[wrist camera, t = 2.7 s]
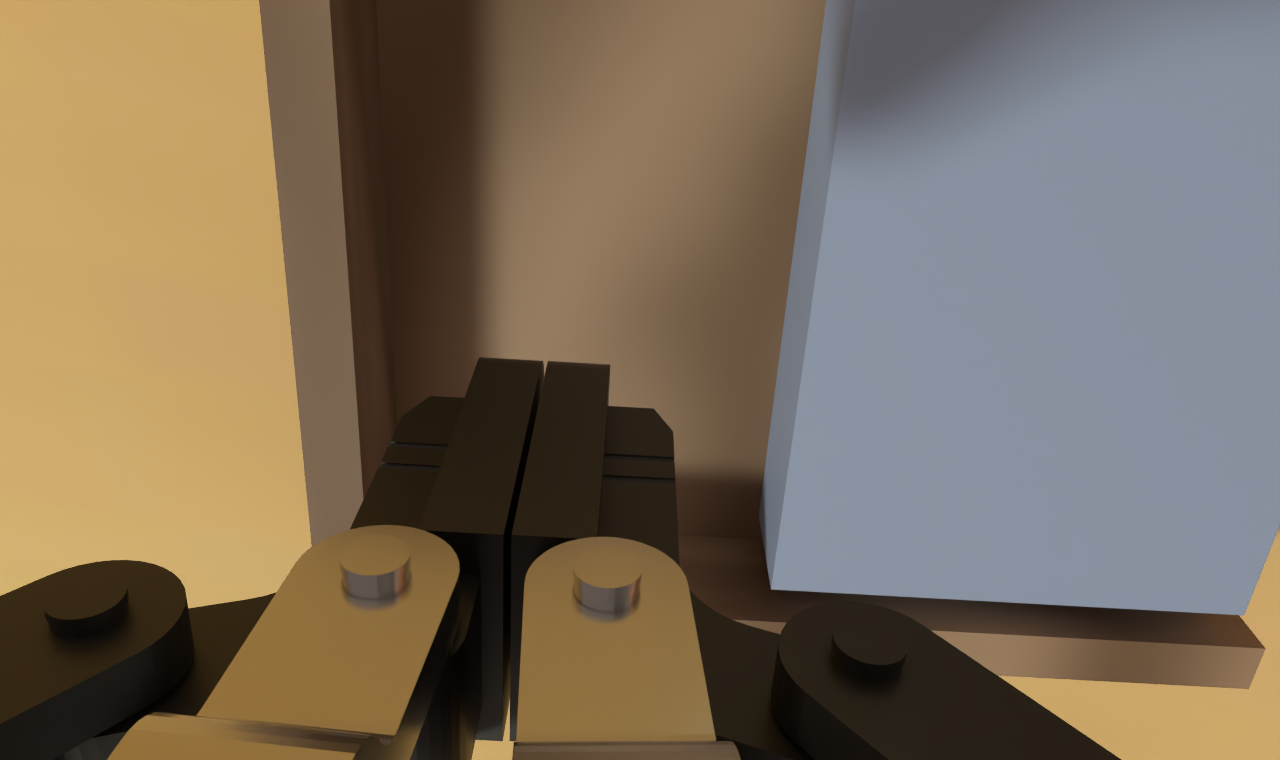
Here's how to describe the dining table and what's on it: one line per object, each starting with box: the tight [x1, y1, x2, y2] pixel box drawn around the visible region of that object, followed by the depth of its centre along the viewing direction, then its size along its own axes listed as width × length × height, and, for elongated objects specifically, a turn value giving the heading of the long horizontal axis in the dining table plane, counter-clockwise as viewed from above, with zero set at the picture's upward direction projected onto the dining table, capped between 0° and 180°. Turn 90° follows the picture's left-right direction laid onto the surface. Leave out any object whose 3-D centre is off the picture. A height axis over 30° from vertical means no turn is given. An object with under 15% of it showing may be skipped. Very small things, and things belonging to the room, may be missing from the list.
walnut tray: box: [259, 0, 1265, 689], centre depth 18 cm, size 18×15×4 cm
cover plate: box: [759, 0, 1280, 615], centre depth 18 cm, size 9×12×2 cm
